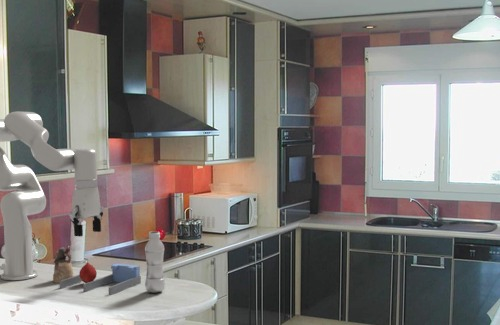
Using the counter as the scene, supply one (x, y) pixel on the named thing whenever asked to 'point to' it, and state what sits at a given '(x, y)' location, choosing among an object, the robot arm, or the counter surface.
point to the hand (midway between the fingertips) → (87, 233)
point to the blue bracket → (124, 272)
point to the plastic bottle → (154, 263)
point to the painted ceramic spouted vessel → (62, 265)
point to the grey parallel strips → (102, 283)
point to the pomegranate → (87, 273)
